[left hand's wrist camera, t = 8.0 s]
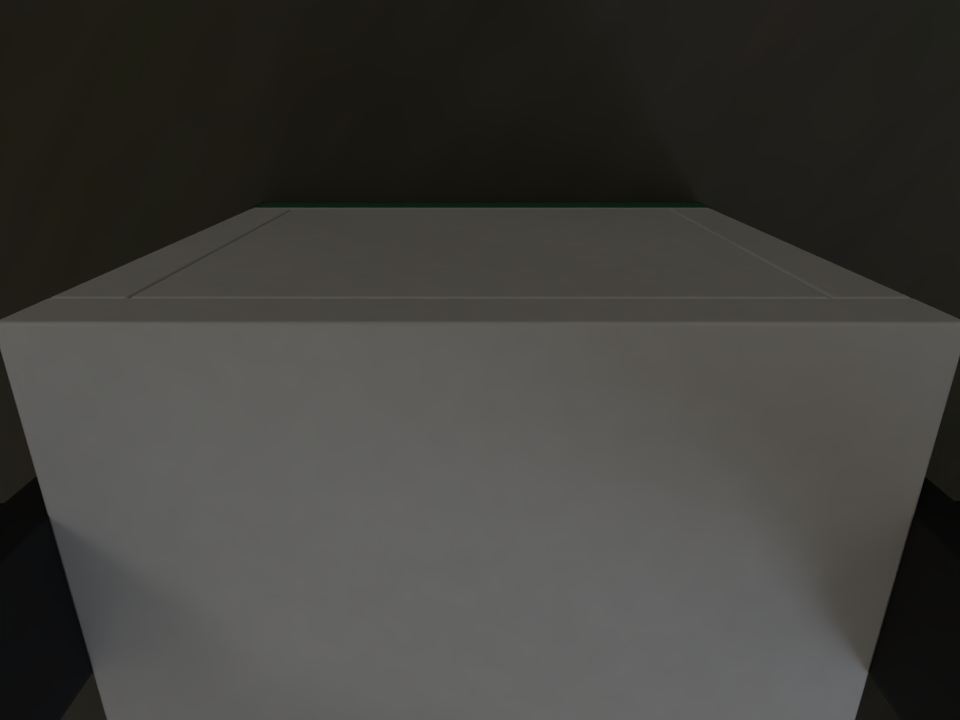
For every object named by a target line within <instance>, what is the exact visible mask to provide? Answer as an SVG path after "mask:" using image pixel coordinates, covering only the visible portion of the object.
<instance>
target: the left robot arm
mask: <svg viewBox="0 0 960 720" xmlns="http://www.w3.org/2000/svg"><path fill="white" fill-rule="evenodd" d="M92 672H93V670H92V666H91V663H90V659H89V656H88V652H87V649H86V645H85V642H84V638H83V635H82V631H81V628H80V624H79V621H78V617H77V614H76V610H75V607H74V603H73V600H72V596H71V593H70V590H69V586H68V583H67V579H66V576H65V572H64V569H63V565H62V562H61V558H60V555H59V551H58V548H57V544H56V541H55V537H54V534H53V530H52V527H51V523H50V520H49V516H48V513H47V510H46V506H45V503H44V499H43V496H42V492H41V489H40V485H39V482H38V478H37V476H36V477H35V478H34V479H33V480H32V481H30V482H29V483H28V484H27V485H26V486H24V487H23V488H22V489H21V490H20V491H18V492H17V493H16V494H15V495H14V496H12V497H11V498H10V499H9V500H8V501H6V502H5V503H0V720H60V719H61V718H62V716H63V715H64V713H65V712H66V711H67V709H68V708H69V706H70V705H71V703H72V702H73V700H74V699H75V697H76V696H77V694H78V693H79V691H80V690H81V689H82V687H83V686H84V684H85V683H86V681H87V680H88V678H89V677H90V675H91V674H92ZM869 674H870V676H871V677H872V679H873V680H874V682H875V683H876V684H877V686H878V687H879V689H880V690H881V692H882V693H883V695H884V696H885V698H886V699H887V701H888V702H889V703H890V705H891V706H892V708H893V709H894V711H895V712H896V714H897V715H898V717H899V718H900V720H960V501H953V500H952V499H951V498H950V497H948V496H947V495H946V494H945V493H944V492H942V491H941V490H940V489H939V488H938V487H936V486H935V485H934V484H933V483H932V482H931V481H929V480H928V479H927V478H926V477H925V478H924V482H923V485H922V489H921V492H920V496H919V499H918V503H917V506H916V510H915V513H914V516H913V520H912V523H911V527H910V530H909V534H908V537H907V541H906V544H905V548H904V551H903V555H902V558H901V562H900V565H899V569H898V572H897V575H896V579H895V582H894V586H893V589H892V593H891V596H890V600H889V603H888V607H887V610H886V614H885V617H884V621H883V624H882V627H881V631H880V634H879V638H878V641H877V645H876V648H875V652H874V655H873V659H872V662H871V666H870V669H869Z"/></svg>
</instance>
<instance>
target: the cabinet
mask: <svg viewBox="0 0 960 720" xmlns="http://www.w3.org/2000/svg"><path fill="white" fill-rule="evenodd" d="M0 350H1V353H2V357H3V360H4V364H5V367H6V370H7V374H8V377H9V381H10V384H11V388H12V391H13V395H14V398H15V402H16V405H17V409H18V412H19V416H20V419H21V423H22V426H23V430H24V433H25V437H26V440H27V443H28V447H29V450H30V454H31V457H32V461H33V464H34V468H35V471H36V475H37V478H38V482H39V485H40V489H41V492H42V496H43V499H44V503H45V506H46V510H47V513H48V516H49V520H50V523H51V527H52V530H53V534H54V537H55V541H56V544H57V548H58V551H59V555H60V558H61V562H62V565H63V569H64V572H65V576H66V579H67V583H68V586H69V590H70V593H71V596H72V600H73V603H74V607H75V610H76V614H77V617H78V621H79V624H80V628H81V631H82V635H83V638H84V642H85V645H86V649H87V652H88V656H89V659H90V663H91V666H92V670H93V673H94V676H95V680H96V683H97V687H98V690H99V694H100V697H101V701H102V704H103V708H104V711H105V715H106V718H107V720H855V718H856V714H857V711H858V707H859V704H860V700H861V697H862V693H863V690H864V686H865V683H866V680H867V676H868V673H869V669H870V666H871V662H872V659H873V655H874V652H875V648H876V645H877V641H878V638H879V634H880V631H881V627H882V624H883V621H884V617H885V614H886V610H887V607H888V603H889V600H890V596H891V593H892V589H893V586H894V582H895V579H896V575H897V572H898V569H899V565H900V562H901V558H902V555H903V551H904V548H905V544H906V541H907V537H908V534H909V530H910V527H911V523H912V520H913V516H914V513H915V510H916V506H917V503H918V499H919V496H920V492H921V489H922V485H923V482H924V478H925V475H926V471H927V468H928V464H929V461H930V457H931V454H932V451H933V447H934V444H935V440H936V437H937V433H938V430H939V426H940V423H941V419H942V416H943V412H944V409H945V405H946V402H947V398H948V395H949V392H950V388H951V385H952V381H953V378H954V374H955V371H956V367H957V364H958V360H959V357H960V319H958V318H956V317H953V316H951V315H949V314H947V313H944V312H942V311H940V310H938V309H935V308H933V307H931V306H929V305H926V304H924V303H922V302H920V301H917V300H915V299H911V298H910V297H908V296H906V295H903V294H901V293H899V292H897V291H894V290H892V289H890V288H888V287H885V286H883V285H881V284H879V283H876V282H874V281H872V280H870V279H867V278H865V277H863V276H861V275H858V274H856V273H854V272H852V271H849V270H847V269H845V268H843V267H840V266H838V265H836V264H834V263H831V262H829V261H827V260H825V259H822V258H820V257H818V256H816V255H813V254H811V253H809V252H807V251H804V250H802V249H800V248H798V247H795V246H793V245H791V244H789V243H786V242H784V241H782V240H780V239H777V238H775V237H773V236H771V235H768V234H766V233H764V232H762V231H759V230H757V229H755V228H753V227H750V226H748V225H746V224H744V223H741V222H739V221H737V220H735V219H732V218H730V217H728V216H726V215H723V214H721V213H719V212H717V211H714V210H712V209H711V207H709V206H706V205H704V204H702V203H699V202H263V203H261V204H258V205H256V206H254V207H251V209H250V210H248V211H246V212H243V213H241V214H239V215H236V216H234V217H232V218H230V219H227V220H225V221H223V222H221V223H218V224H216V225H214V226H212V227H209V228H207V229H205V230H203V231H200V232H198V233H196V234H193V235H191V236H189V237H187V238H184V239H182V240H180V241H178V242H175V243H173V244H171V245H169V246H166V247H164V248H162V249H160V250H157V251H155V252H153V253H150V254H148V255H146V256H144V257H141V258H139V259H137V260H135V261H132V262H130V263H128V264H126V265H123V266H121V267H119V268H117V269H114V270H112V271H110V272H108V273H105V274H103V275H101V276H98V277H96V278H94V279H92V280H89V281H87V282H85V283H83V284H80V285H78V286H76V287H74V288H71V289H69V290H67V291H65V292H62V293H60V294H58V295H55V296H53V297H51V298H48V299H46V300H44V301H42V302H39V303H37V304H35V305H32V306H30V307H28V308H26V309H23V310H21V311H19V312H17V313H14V314H12V315H10V316H8V317H5V318H3V319H1V320H0Z"/></svg>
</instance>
